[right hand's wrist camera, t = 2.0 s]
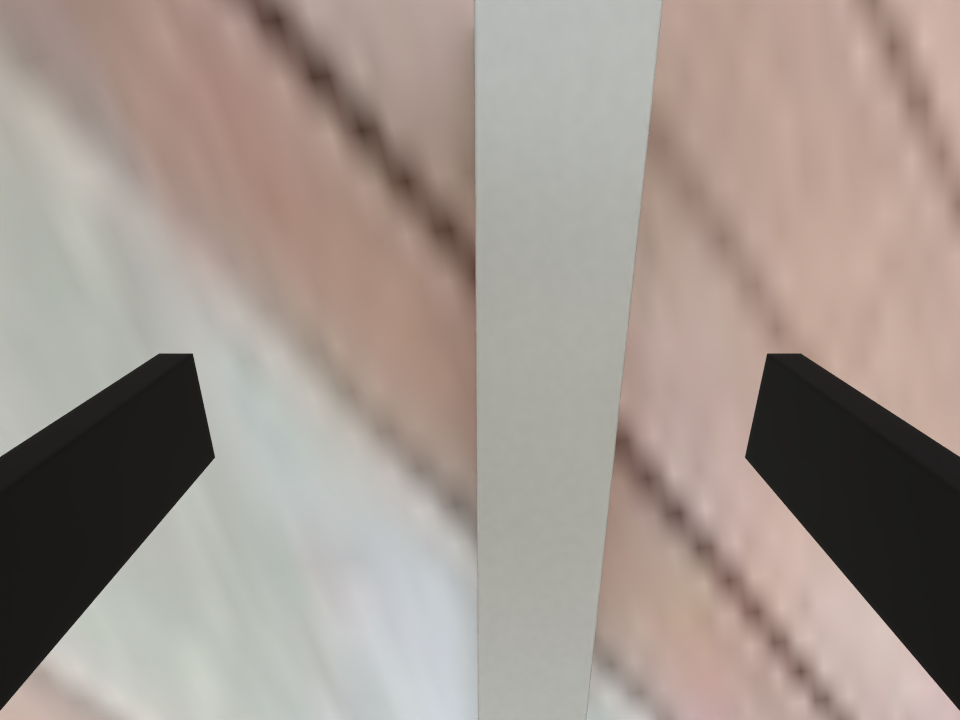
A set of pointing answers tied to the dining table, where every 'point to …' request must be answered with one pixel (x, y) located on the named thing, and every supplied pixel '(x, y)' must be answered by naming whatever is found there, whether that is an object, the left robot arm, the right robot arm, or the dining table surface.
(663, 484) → the dining table surface
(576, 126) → the beam
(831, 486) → the right robot arm
